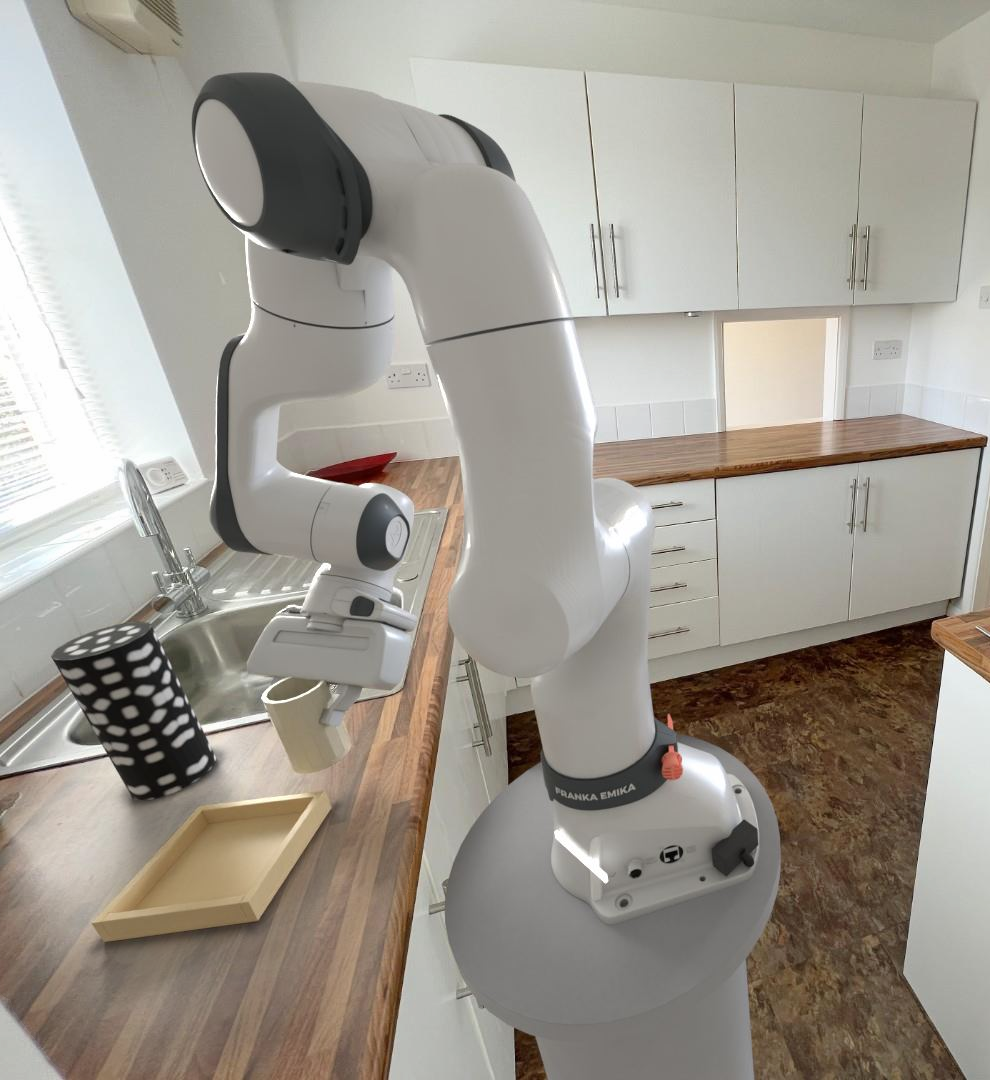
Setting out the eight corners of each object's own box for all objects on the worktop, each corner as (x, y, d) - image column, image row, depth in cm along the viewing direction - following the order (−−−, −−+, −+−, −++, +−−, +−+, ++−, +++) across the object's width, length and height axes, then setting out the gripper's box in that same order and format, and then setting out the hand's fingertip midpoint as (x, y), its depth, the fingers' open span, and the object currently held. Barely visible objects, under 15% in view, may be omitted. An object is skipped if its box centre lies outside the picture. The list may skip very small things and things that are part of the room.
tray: (332, 807, 68) (325, 790, 67) (258, 921, 55) (248, 902, 54) (208, 823, 66) (199, 805, 66) (103, 942, 54) (91, 923, 53)
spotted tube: (133, 774, 75) (58, 640, 67) (215, 742, 80) (153, 614, 72) (127, 812, 69) (44, 669, 61) (216, 775, 74) (149, 639, 66)
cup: (361, 734, 74) (336, 667, 70) (336, 770, 68) (307, 699, 64) (310, 740, 73) (282, 674, 70) (280, 777, 68) (248, 706, 64)
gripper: (259, 596, 73) (210, 710, 68) (393, 605, 68) (351, 728, 63) (302, 610, 79) (260, 716, 74) (429, 619, 74) (393, 733, 68)
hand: (303, 722), depth 68 cm, fingers closed on cup, 6 cm apart
